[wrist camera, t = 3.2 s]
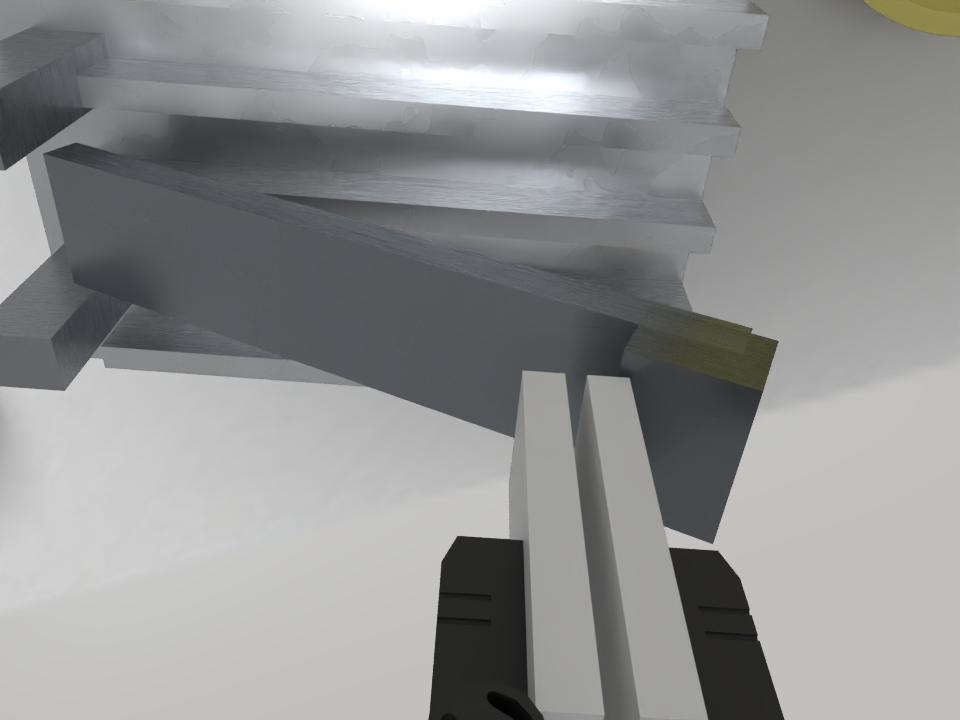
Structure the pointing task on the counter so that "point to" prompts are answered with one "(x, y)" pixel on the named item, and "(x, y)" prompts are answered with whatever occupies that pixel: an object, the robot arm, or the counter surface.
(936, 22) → the plastic component
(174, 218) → the dark grey flat bar
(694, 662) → the robot arm
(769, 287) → the counter surface
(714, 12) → the heatsink block
